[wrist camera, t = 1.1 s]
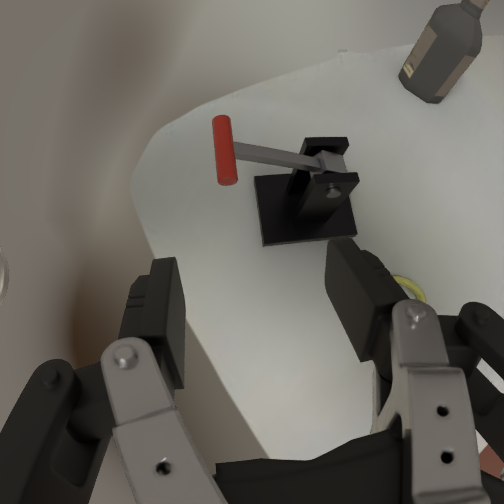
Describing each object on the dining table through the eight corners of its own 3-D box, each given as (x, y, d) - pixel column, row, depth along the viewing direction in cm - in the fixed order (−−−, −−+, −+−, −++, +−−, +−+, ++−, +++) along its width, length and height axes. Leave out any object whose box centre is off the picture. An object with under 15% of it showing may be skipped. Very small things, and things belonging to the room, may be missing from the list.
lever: (212, 187, 25) (225, 173, 23) (207, 126, 27) (218, 110, 25) (336, 201, 32) (352, 192, 30) (323, 150, 33) (338, 139, 31)
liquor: (443, 86, 50) (516, -15, 21) (435, 110, 48) (522, -1, 19) (405, 61, 51) (467, -50, 22) (394, 82, 49) (466, -43, 20)
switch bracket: (263, 246, 40) (277, 208, 27) (253, 180, 42) (262, 122, 29) (354, 236, 41) (399, 199, 28) (340, 174, 43) (374, 121, 31)
